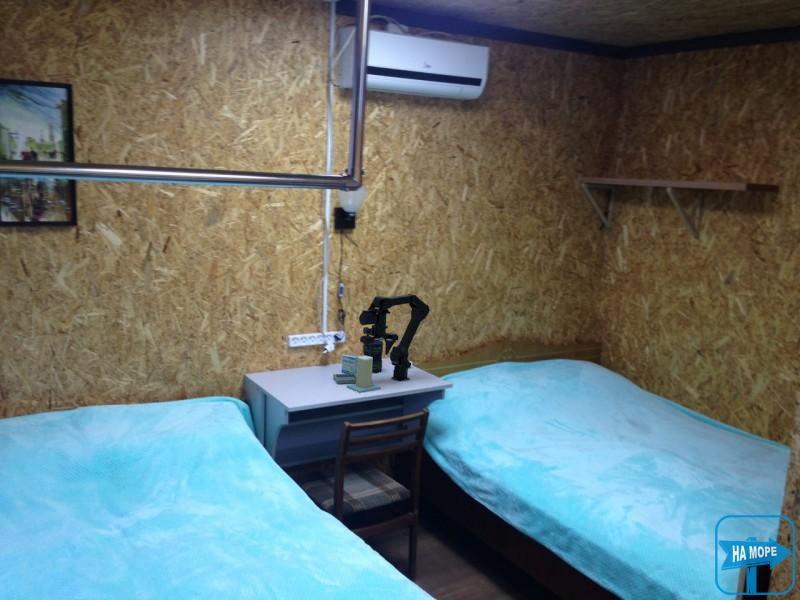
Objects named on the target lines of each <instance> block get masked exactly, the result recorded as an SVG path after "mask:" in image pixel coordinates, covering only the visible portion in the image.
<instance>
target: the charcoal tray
mask: <svg viewBox="0 0 800 600" xmlns="http://www.w3.org/2000/svg"><path fill="white" fill-rule="evenodd" d="M356 375H357V374H347V373H335V374H332V379H333V378H334V379H333V380H334V381H336V382H335V383H336V384H337V385H352V384H356Z"/></svg>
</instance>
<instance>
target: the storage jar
mask: <svg viewBox="0 0 800 600" xmlns="http://www.w3.org/2000/svg"><path fill="white" fill-rule="evenodd" d="M373 344H374V349H373V355H372V357H373V363H372V374H379V372H380V373H382V372H383V352H384V340H376V341H374V342H373ZM362 349H363V351H362V352H363V356H369V353H368V349H367V347H366V345H365V344H363V348H362ZM369 357H370V356H369ZM381 371H382V372H381Z"/></svg>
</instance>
